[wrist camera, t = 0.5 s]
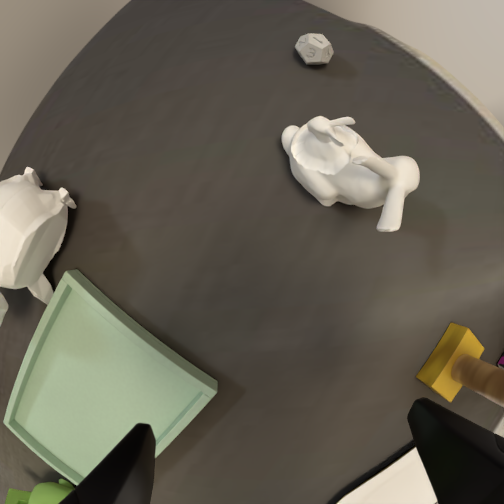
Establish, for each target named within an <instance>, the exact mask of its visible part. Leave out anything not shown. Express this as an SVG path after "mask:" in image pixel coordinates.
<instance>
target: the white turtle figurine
mask: <svg viewBox="0 0 504 504" xmlns="http://www.w3.org/2000/svg"><path fill="white" fill-rule="evenodd" d="M42 185H43V184H42V183H41V181H40V179H39V177H38V176H37V175H36V173H35V171H34V170H33V169H32V168H30V167H27V168H26V170H25V173H24V175H22V176H20V175H17V176H14V177H12V178H10V179H7V180H4V181H1V182H0V287H5V288H10V289H19V288H24V287H28V289H29V290H30V291H31V293H32V294H33V296H35V297H36V298H38V299H40V300H41V301H42V302H44V303H45V304H47V305H48V304H49V302H50V300H51V298H52V296H53V290H52V286H51V284H50V283H49V281H48V280H47V278H46V277H45V276H44V274H43V271H44V270H45V268H46V267H47V265H48V264H49V262H50V260H51V259H52V258H53V257H54V254H55V253H56V252H58V251H59V248H60V247H61V243H62V241H63V237H64V234H65V230H66V226H67V222H68V221H67V219H68V208H67V206H69V207H70V208H73V209H75V208H76V207H77V206H76V204H75V202H74V201H73V199H71V198H70V197H69V192H68V191H67V190H65V189H64V188H60V189H59V190H58V191H52V190H42V189H40V186H42ZM7 310H8V304H7V302H6V300H5V298H4V296H3V295H2V293H1V292H0V326H1V324H2V320H3V317H4V315H5V313H6V311H7Z"/></svg>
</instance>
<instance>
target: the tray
mask: <svg viewBox="0 0 504 504" xmlns="http://www.w3.org/2000/svg"><path fill="white" fill-rule="evenodd" d="M217 387H218V381H216V380H215V379H213V378H212V377H210V376H209V375H207V374H206V373H204V372H203V371H201V370H200V369H198V368H197V367H195V366H194V365H193V364H191V363H190V362H188V361H187V360H185V359H184V358H183V357H181V356H180V355H179V354H177V353H176V352H174V351H173V350H172V349H170V348H169V347H168V346H166V345H165V344H164V343H162V342H161V341H160V340H158V339H157V338H156V337H155V336H153V335H152V334H151V333H149V332H148V331H147V330H146V329H144V328H143V327H142V326H141V325H139V324H138V323H137V322H136V321H134V320H133V319H132V318H131V317H130V316H128V315H127V314H126V313H125V312H124V311H123V310H121V309H120V308H119V307H118V306H117V305H116V304H114V303H113V302H112V301H111V300H110V299H109V298H108V297H106V296H105V295H104V294H103V293H102V292H101V291H100V290H99V289H98V288H97V287H95V286H94V285H93V284H92V283H91V282H90V281H89V280H88V279H87V278H86V277H85V276H84V275H83V274H82V273H81V272H80V271H79V270H78V269H76V270H69V271H66V272H65V273H64V275H63V277H62V279H61V281H60V282H59V284H58V286H57V288H56V290H55V292H54V294H53V296H52V298H51V300H50V302H49V304H48V306H47V308H46V310H45V312H44V314H43V316H42V318H41V320H40V322H39V324H38V327H37V329H36V331H35V333H34V336H33V338H32V340H31V343H30V345H29V347H28V350H27V352H26V355H25V357H24V360H23V362H22V365H21V368H20V370H19V373H18V376H17V379H16V382H15V385H14V388H13V391H12V394H11V397H10V400H9V403H8V407H7V410H6V414H5V418H4V422H3V423H4V424H5V425H6V426H7V427H8V428H9V429H10V430H11V431H12V432H13V433H14V434H15V435H16V436H17V437H18V438H19V439H20V440H21V441H22V442H23V443H24V444H25V445H27V446H28V447H29V448H30V449H31V450H32V451H33V452H34V453H36V454H37V455H38V456H39V457H40V458H41V459H43V460H44V461H45V462H46V463H47V464H49V465H50V466H51V467H52V468H54V469H55V470H56V471H58V472H59V473H60V474H61V475H63V476H64V477H66V478H67V479H68V480H70V481H71V482H72V483H74V484H75V485H78V484H79V483H80V482H81V481H82V480H83V479H84V478H85V477H86V476H87V475H88V474H89V473H90V472H91V471H92V470H93V469H94V468H95V467H96V466H97V465H98V464H99V463H100V462H101V461H102V460H103V459H104V458H105V457H106V455H107V454H108V453H109V452H110V451H111V450H112V449H113V448H114V447H115V446H116V445H117V444H118V443H119V442H120V441H121V440H122V439H123V438H124V436H125V435H126V434H127V433H128V432H129V431H130V430H131V429H132V428H133V427H134V426H135V425H136V424H137V423H146V424H150V425H151V427H152V430H153V433H154V436H155V439H156V450H155V458H156V457H157V456H158V455H159V454H160V453H161V452H162V451H163V450H164V449H165V448H166V447H167V446H168V445H169V444H170V443H171V442H172V441H173V440H174V439H175V438H176V437H177V436H178V435H179V434H180V432H181V431H182V430H183V429H184V428H185V427H186V426H187V425H188V424H189V423H190V422H191V421H192V420H193V419H194V418H195V416H196V415H197V414H198V413H199V412H200V411H201V410H202V409H203V408H204V407H205V406H206V404H207V403H208V402H209V401H210V400H211V398H213V397H214V395H215V394H216V393H217Z"/></svg>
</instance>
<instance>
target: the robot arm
mask: <svg viewBox="0 0 504 504" xmlns="http://www.w3.org/2000/svg"><path fill="white" fill-rule="evenodd" d="M407 419H408V423H409V426H410V429H411V432H412V435H413V439H414V442H415V445H416V448H417V451H418V454H419V456H420V459H421V461H422V463H423V466H424V468H425V471H426V473H427V476H428V478H429V481H430V483H431V486H432V488H433V491H434V493H435V496H436V498H437V501H438V504H504V438H503V437H501V436H499V435H497V434H494V433H493V432H491V431H489V430H487V429H485V428H483V427H481V426H479V425H477V424H475V423H473V422H471V421H469V420H467V419H465V418H463V417H461V416H459V415H458V414H456V413H454V412H452V411H450V410H448V409H446V408H444V407H442V406H441V405H439V404H437V403H435V402H433V401H431V400H429V399H428V398H420V399H417V400H415V402H414V403H413V405H412V407H411V409H410V411H409V413H408V417H407ZM155 450H156V439H155V436H154V433H153V430H152V427H151V425H150V424H146V423H137V424H136V425H135V426H134V427H133V428H132V429H131V430H130V431H129V432H128V433H127V434H126V435H125V436H124V438H123V439H122V440H121V441H120V442H119V443H118V444H117V445H116V446H115V447H114V448H113V449H112V450H111V451H110V452H109V453H108V454H107V455H106V457H105V458H104V459H103V460H102V461H101V462H100V463H99V464H98V465H97V466H96V467H95V468H94V469H93V470H92V471H91V472H90V473H89V474H88V475H87V476H86V477H85V478H84V479H83V480H82V481H81V482H80V483H79V484H78V485H77V486H76V487H75V490H74V489H73V490H72V491H71V492H70V493H69V494H68V495H67V496H66V497H65V498H64V499H63V500H62V501H61V502H59V503H58V504H150V500H151V494H152V489H153V483H154V466H155Z"/></svg>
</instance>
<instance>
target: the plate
mask: <svg viewBox="0 0 504 504" xmlns="http://www.w3.org/2000/svg"><path fill="white" fill-rule="evenodd" d="M436 502H437V498H436V496H435V493H434V491H433V488H432V486H431V483H430V481H429V478H428V476H427V473H426V471H425V468H424V466H423V463H422V461H421V459H420V456H419V454H418V451H417V448H416V446H415V447H413V448H412V449H411V450H409V451H408V452H407V453H406V454H404V455H403V456H401V457H400V458H399V459H397V460H396V461H395V462H393V463H392V464H390V465H389V466H387V467H386V468H385V469H383V470H382V471H380V472H379V473H377V474H376V475H374V476H373V477H371V478H370V479H368V480H366V481H365V482H364V483H362V484H361V485H359V486H358V487H356V488H355V489H353V490H352V491H350V492H349V493H347V494H346V495H344V496H343V497H342V498H341V499H340V500H339V501H338V502H337V503H336V504H434V503H436Z"/></svg>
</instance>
